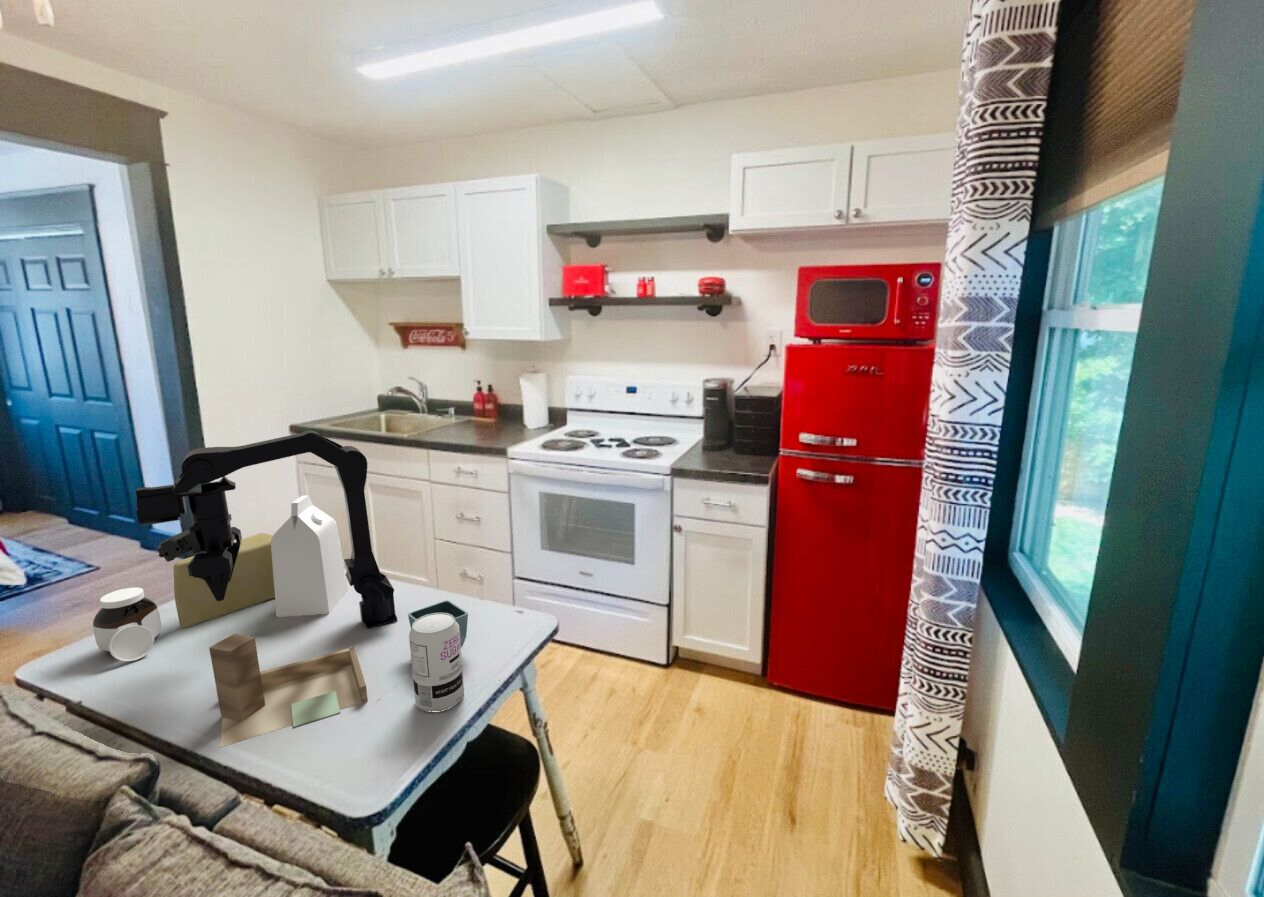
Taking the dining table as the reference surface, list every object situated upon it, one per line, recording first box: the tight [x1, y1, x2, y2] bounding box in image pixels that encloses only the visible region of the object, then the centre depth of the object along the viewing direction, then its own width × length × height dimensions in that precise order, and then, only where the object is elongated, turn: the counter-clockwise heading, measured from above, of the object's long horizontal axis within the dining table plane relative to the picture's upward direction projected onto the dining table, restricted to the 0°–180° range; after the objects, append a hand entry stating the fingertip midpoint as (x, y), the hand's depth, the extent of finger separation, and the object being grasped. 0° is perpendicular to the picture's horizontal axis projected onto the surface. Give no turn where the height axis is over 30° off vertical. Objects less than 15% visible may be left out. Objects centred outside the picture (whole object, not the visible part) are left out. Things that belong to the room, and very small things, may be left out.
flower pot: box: [407, 599, 469, 649], centre depth 118 cm, size 9×9×9 cm
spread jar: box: [92, 587, 162, 662], centre depth 120 cm, size 12×11×12 cm
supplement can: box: [408, 613, 465, 713], centre depth 103 cm, size 8×8×15 cm
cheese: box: [173, 532, 275, 629], centre depth 138 cm, size 22×10×15 cm, turn 150°
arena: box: [219, 646, 369, 748], centre depth 104 cm, size 22×16×3 cm
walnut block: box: [208, 633, 265, 722], centre depth 100 cm, size 4×4×13 cm
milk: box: [271, 494, 349, 618], centre depth 138 cm, size 12×12×26 cm
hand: (223, 590), depth 116 cm, fingers open, 9 cm apart
